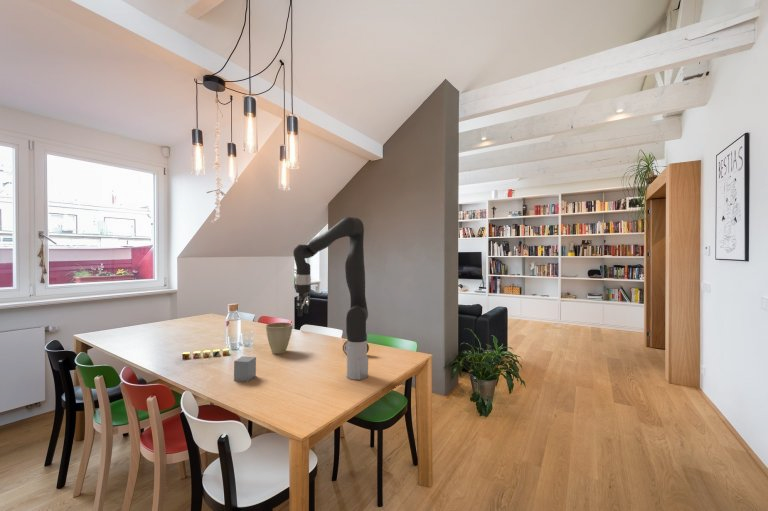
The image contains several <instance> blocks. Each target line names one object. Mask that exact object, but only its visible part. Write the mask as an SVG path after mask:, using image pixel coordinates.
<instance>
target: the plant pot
mask: <svg viewBox="0 0 768 511" xmlns="http://www.w3.org/2000/svg"><path fill="white" fill-rule="evenodd" d="M265 331H266V337H267V341H268V344H269V347H270V350H271V353H272V354H273V355H281V354H284V353H286V351H287V348H288V345H289V342H290V340H291V336H292V332H293V323H291V322H272V323H271V322H270V323H267V324H265Z"/></svg>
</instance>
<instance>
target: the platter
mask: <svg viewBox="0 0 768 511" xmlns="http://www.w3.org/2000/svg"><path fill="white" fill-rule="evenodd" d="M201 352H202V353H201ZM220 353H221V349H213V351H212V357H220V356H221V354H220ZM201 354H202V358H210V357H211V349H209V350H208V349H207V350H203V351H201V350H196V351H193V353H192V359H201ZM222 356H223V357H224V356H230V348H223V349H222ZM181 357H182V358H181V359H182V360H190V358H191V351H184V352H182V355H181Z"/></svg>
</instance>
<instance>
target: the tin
mask: <svg viewBox="0 0 768 511" xmlns="http://www.w3.org/2000/svg"><path fill="white" fill-rule="evenodd" d="M369 350H370V346H369V343H367V353H369ZM342 351H343V353H344V354H345V355H347V340H345V342H344V343H343V345H342Z"/></svg>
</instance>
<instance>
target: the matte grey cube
mask: <svg viewBox="0 0 768 511" xmlns="http://www.w3.org/2000/svg"><path fill="white" fill-rule="evenodd" d="M256 371H257V357H256V356H241V357H240V358H237V359H236V360H233V381H237V382H249V381H251V380H252V379H254V378H255V377H256V376H257V372H256Z"/></svg>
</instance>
